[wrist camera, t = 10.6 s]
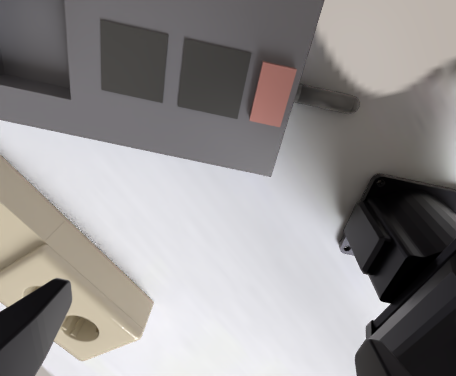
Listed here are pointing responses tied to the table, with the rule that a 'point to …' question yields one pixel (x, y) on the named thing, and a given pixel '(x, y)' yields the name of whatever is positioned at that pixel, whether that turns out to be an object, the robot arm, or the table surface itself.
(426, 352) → the robot arm
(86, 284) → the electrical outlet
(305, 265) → the table surface
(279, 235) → the table surface
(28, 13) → the power strip
